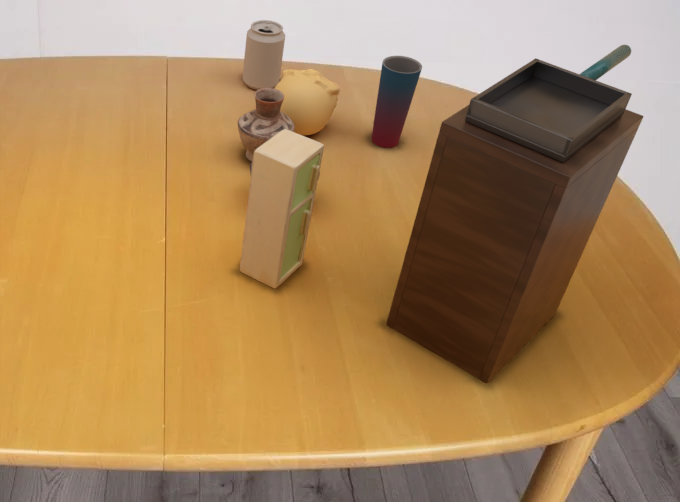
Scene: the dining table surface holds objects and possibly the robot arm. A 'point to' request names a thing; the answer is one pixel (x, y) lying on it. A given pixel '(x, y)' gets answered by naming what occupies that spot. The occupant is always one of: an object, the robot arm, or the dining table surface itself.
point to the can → (263, 54)
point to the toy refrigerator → (280, 206)
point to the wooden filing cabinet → (499, 240)
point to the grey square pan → (551, 105)
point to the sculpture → (307, 99)
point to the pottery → (263, 121)
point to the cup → (394, 99)
